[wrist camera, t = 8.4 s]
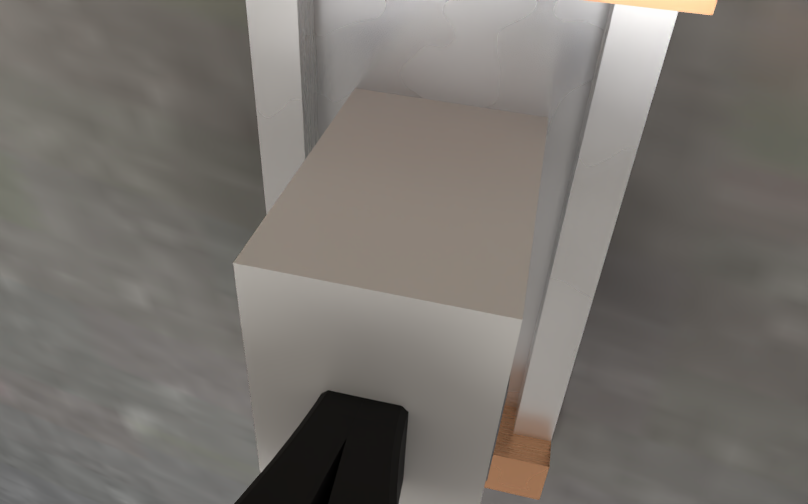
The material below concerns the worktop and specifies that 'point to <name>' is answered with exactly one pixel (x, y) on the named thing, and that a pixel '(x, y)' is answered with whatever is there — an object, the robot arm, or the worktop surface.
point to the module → (398, 280)
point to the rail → (501, 90)
